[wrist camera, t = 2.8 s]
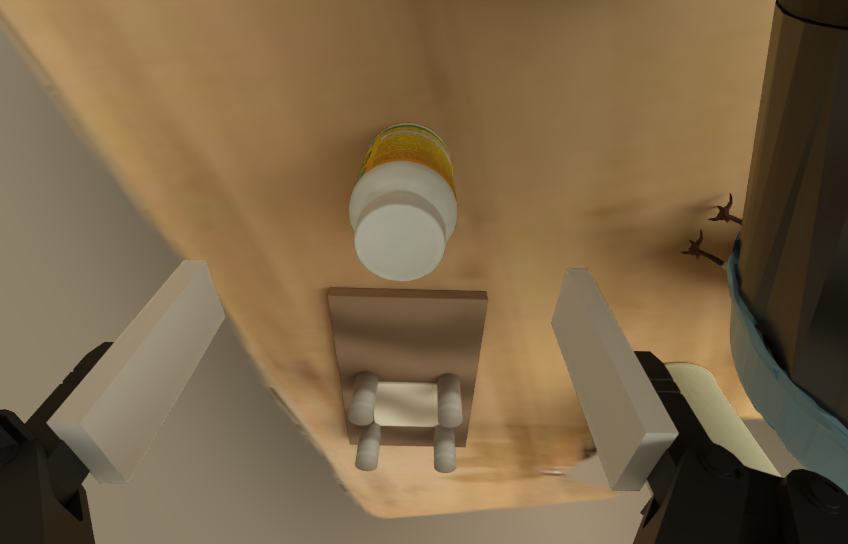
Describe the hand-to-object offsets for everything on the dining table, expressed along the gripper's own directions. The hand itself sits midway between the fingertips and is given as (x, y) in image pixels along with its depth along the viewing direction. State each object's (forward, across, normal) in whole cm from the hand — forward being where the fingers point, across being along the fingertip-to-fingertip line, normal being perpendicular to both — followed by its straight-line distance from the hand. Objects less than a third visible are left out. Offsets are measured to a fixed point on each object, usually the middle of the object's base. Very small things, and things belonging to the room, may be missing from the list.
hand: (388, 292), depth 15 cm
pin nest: (+13, 0, -20) cm, 24 cm away
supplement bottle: (+13, 0, 0) cm, 13 cm away
